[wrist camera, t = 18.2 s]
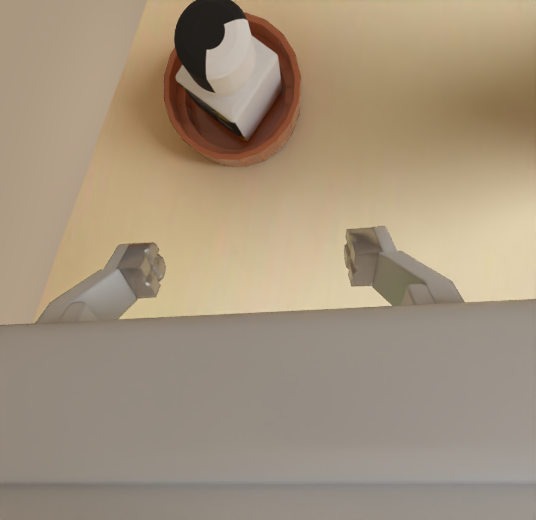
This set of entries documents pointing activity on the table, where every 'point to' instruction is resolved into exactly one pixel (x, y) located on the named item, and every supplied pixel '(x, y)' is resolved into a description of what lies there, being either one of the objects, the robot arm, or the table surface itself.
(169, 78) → the bowl
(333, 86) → the table surface
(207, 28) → the medicine bottle
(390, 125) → the table surface
